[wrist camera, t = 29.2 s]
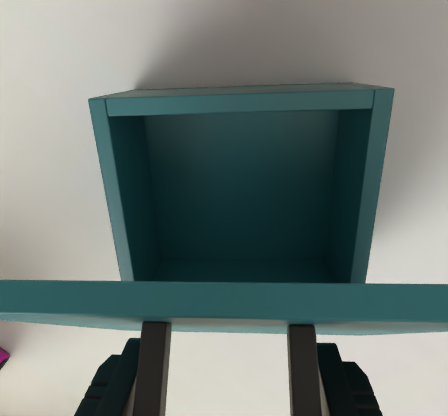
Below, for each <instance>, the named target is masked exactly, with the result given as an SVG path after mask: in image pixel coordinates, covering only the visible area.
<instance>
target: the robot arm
mask: <svg viewBox="0 0 448 416" xmlns="http://www.w3.org/2000/svg"><path fill="white" fill-rule="evenodd" d="M140 339H141V338H130V339H129V340H128V341H127V343H126V345H125V347H124V350H123V352H122V354H121V355H111V356H110V357H109V358H108V359H107V360H106V361H105V362H104V363H103V364H102V365H101V366H100V367H99V368H98V370H97V372H96V374H95V376H94V378H93V380H92V382H91V386H89V388H88V390H87V392H86V394H85V397H84V399H82V401H81V403H80V405H79V407H78V409H77V411H76V413H75V415H74V416H132V415H133V406H134V396H135V387H136V377H137V368H138V358H139V349H140ZM317 356H318V370H319V383H320V397H321V411H322V416H383V415H382V412H381V411H380V409H379V405H378V402H377V400H376V397H375V396H374V392H373V390H372V387H371V384H370V382H369V379H368V377H367V375H366V374H365V373H364V372H363V371H362V370H361V369H360V367H359V366H358V365H357V364H356V363H355V362H344V361H342V360H341V357H340V354H339V351H338V348H337V345H336V344H335V343H317Z"/></svg>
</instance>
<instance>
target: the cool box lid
mask: <svg viewBox="0 0 448 416" xmlns="http://www.w3.org/2000/svg"><path fill="white" fill-rule="evenodd" d="M0 320H5V321H17V322H29V323H42V324H54V325H66V326H78V327H91V328H103V329H115V330H134V331H141V339H140V349H139V358H138V368H137V377H136V387H135V396H134V406H133V415H132V416H165V409H166V395H167V382H168V368H169V355H170V342H171V331H180V332H227V333H273V334H287V346H288V368H289V391H290V413H291V416H322V411H321V397H320V383H319V370H318V356H317V343H316V334H319V335H382V334H404V333H426V332H447V331H448V284H361V283H261V282H162V281H62V280H0Z"/></svg>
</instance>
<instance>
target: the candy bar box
mask: <svg viewBox="0 0 448 416" xmlns="http://www.w3.org/2000/svg"><path fill="white" fill-rule="evenodd" d="M9 357H10V355H9V354H8V353H6V352H5V351H3V350H1V349H0V370H1V368H2V367H3V366H4V365H5V363H6V362H7V361H8V359H9Z"/></svg>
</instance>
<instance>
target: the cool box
mask: <svg viewBox="0 0 448 416" xmlns="http://www.w3.org/2000/svg"><path fill="white" fill-rule="evenodd" d="M394 90H395V89H394V88H387V87H380V86H374V85H367V84H360V83H353V82H349V83H320V84H291V85H263V86H234V87H205V88H176V89H147V90H130V91H125V92H120V93H115V94H110V95H105V96H99V97H94V98H90V99H88V102H89V107H90V113H91V118H92V124H93V129H94V135H95V140H96V145H97V151H98V156H99V162H100V167H101V173H102V178H103V184H104V189H105V194H106V200H107V205H108V211H109V216H110V222H111V227H112V233H113V238H114V243H115V249H116V254H117V260H118V265H119V271H120V276H121V281H162V282H261V283H361V284H365V281H366V275H367V268H368V261H369V255H370V248H371V242H372V235H373V228H374V222H375V215H376V209H377V202H378V195H379V189H380V182H381V176H382V169H383V162H384V156H385V149H386V143H387V136H388V129H389V123H390V116H391V109H392V103H393V96H394Z"/></svg>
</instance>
